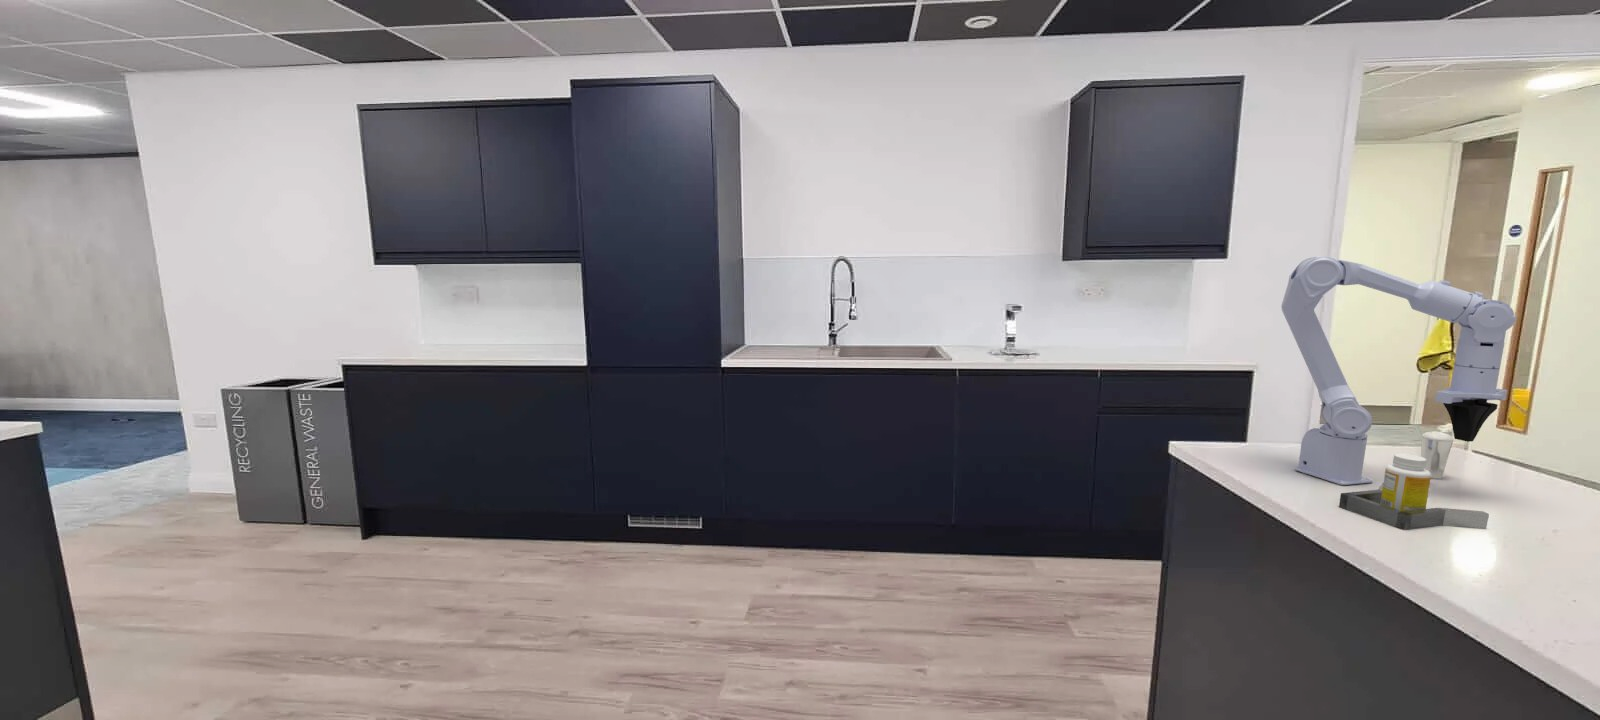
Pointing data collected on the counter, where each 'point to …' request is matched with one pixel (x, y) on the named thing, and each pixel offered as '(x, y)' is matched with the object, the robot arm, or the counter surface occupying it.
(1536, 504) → the counter surface
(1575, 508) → the counter surface
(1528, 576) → the counter surface
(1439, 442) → the milkshake
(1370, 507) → the grey angular open frame
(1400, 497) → the supplement bottle
